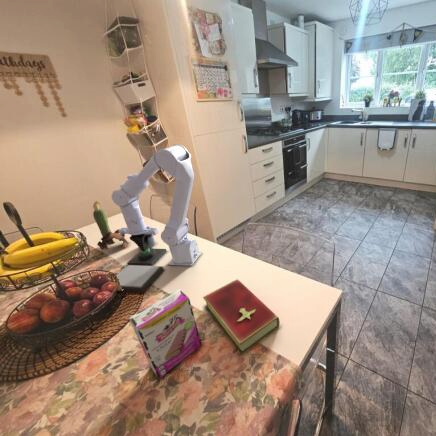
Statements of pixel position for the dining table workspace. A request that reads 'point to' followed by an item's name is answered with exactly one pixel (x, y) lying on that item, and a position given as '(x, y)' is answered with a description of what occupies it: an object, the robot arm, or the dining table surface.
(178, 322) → the candy bar box
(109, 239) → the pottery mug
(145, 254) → the button
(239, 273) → the dining table surface
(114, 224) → the dining table surface
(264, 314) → the hardcover book
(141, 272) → the scale
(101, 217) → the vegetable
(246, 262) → the dining table surface
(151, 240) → the cup
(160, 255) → the block
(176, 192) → the robot arm
